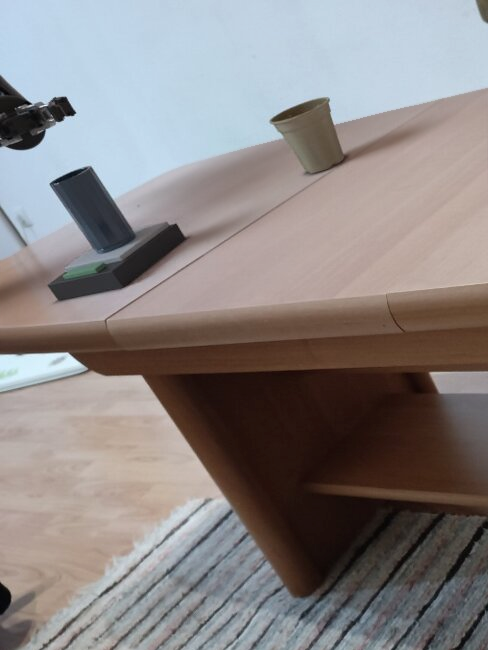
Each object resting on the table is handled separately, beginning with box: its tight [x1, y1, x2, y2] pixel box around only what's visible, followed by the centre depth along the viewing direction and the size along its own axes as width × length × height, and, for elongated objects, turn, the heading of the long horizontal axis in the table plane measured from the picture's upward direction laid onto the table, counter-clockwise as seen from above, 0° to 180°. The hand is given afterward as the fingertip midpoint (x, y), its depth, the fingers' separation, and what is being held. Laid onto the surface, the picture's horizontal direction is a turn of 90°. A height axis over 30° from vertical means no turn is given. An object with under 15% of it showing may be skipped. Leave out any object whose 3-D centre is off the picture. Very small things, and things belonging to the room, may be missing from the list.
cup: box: [49, 165, 136, 254], centre depth 116 cm, size 6×6×10 cm
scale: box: [46, 221, 187, 301], centre depth 119 cm, size 12×14×3 cm
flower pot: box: [268, 96, 345, 174], centre depth 131 cm, size 9×9×9 cm
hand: (26, 126), depth 118 cm, fingers open, 8 cm apart
